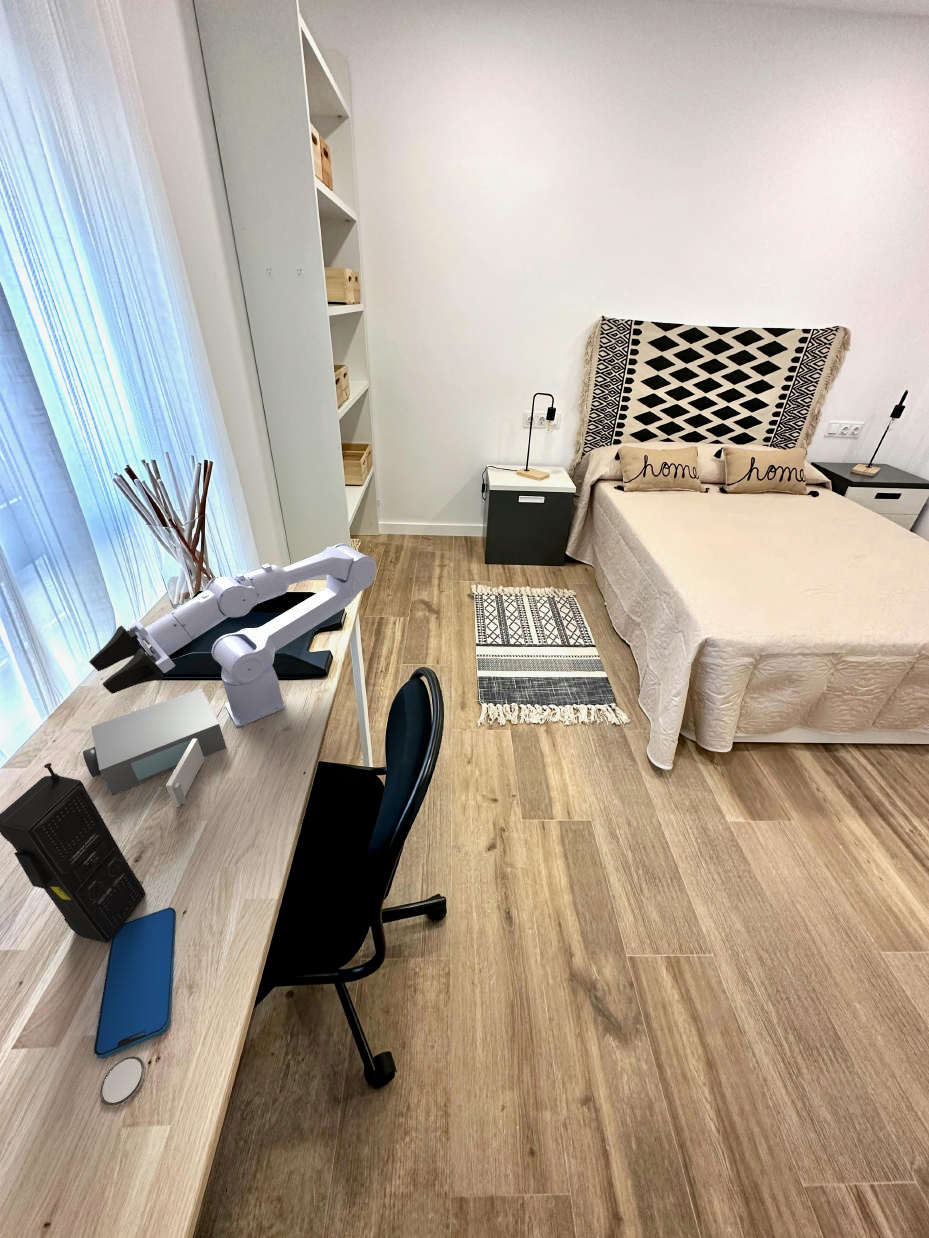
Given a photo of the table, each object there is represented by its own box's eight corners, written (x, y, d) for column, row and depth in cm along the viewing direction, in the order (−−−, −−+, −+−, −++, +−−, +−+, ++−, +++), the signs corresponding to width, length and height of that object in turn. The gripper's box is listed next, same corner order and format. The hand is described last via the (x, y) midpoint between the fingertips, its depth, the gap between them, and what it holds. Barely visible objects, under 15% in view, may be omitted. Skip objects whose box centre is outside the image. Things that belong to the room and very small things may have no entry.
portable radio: (105, 954, 63) (17, 826, 50) (64, 943, 64) (-33, 815, 51) (150, 893, 70) (83, 766, 57) (112, 884, 71) (38, 757, 58)
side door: (199, 759, 90) (192, 738, 87) (209, 759, 90) (202, 738, 87) (174, 806, 81) (165, 785, 79) (184, 806, 81) (176, 785, 79)
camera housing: (209, 711, 101) (201, 688, 98) (226, 748, 93) (219, 724, 90) (91, 755, 91) (78, 731, 87) (99, 801, 82) (86, 776, 79)
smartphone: (176, 904, 68) (169, 1027, 57) (178, 908, 69) (171, 1031, 57) (112, 926, 66) (91, 1060, 54) (115, 930, 66) (94, 1064, 55)
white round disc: (140, 1048, 56) (139, 1046, 55) (150, 1085, 53) (148, 1082, 53) (98, 1079, 53) (96, 1077, 53) (106, 1118, 51) (103, 1116, 51)
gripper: (152, 593, 87) (71, 640, 81) (184, 627, 78) (95, 683, 72) (175, 622, 92) (100, 669, 86) (208, 657, 83) (126, 712, 77)
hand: (100, 677), depth 79 cm, fingers open, 7 cm apart
